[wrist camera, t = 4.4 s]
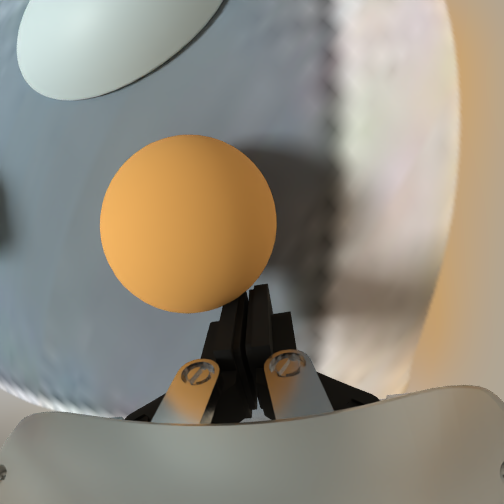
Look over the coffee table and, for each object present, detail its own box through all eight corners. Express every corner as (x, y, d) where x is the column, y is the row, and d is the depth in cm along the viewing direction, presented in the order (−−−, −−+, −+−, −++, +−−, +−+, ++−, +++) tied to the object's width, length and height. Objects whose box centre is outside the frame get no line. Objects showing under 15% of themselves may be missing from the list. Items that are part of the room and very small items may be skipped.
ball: (160, 285, 13) (125, 165, 12) (282, 259, 13) (253, 128, 11) (110, 358, 8) (43, 169, 6) (305, 328, 7) (256, 92, 6)
